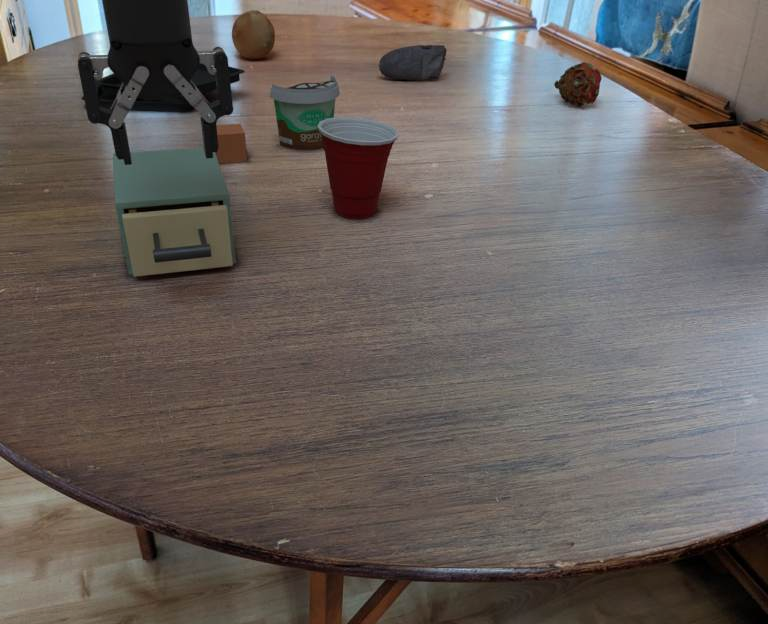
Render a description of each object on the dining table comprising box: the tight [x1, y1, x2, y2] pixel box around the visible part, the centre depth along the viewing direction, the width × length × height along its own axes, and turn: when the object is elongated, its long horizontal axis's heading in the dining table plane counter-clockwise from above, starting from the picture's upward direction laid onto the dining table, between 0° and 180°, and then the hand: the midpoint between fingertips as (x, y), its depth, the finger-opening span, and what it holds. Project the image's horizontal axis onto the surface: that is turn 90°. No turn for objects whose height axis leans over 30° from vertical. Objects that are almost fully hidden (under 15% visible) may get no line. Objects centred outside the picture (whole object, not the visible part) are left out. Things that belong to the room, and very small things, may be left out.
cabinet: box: [112, 147, 237, 276], centre depth 91 cm, size 16×13×9 cm
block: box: [215, 123, 248, 165], centre depth 116 cm, size 5×5×5 cm
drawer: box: [122, 201, 234, 278], centre depth 86 cm, size 20×11×7 cm, turn 17°
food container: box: [269, 75, 341, 151], centre depth 120 cm, size 12×6×10 cm, turn 126°
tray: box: [81, 64, 246, 113], centre depth 139 cm, size 30×23×5 cm
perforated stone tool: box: [378, 44, 447, 81], centre depth 155 cm, size 15×5×7 cm, turn 99°
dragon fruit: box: [553, 61, 603, 108], centre depth 146 cm, size 8×8×12 cm
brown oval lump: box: [231, 9, 276, 61], centre depth 164 cm, size 10×10×10 cm
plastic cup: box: [318, 116, 400, 220], centre depth 99 cm, size 11×11×12 cm
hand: (168, 158), depth 75 cm, fingers open, 7 cm apart
